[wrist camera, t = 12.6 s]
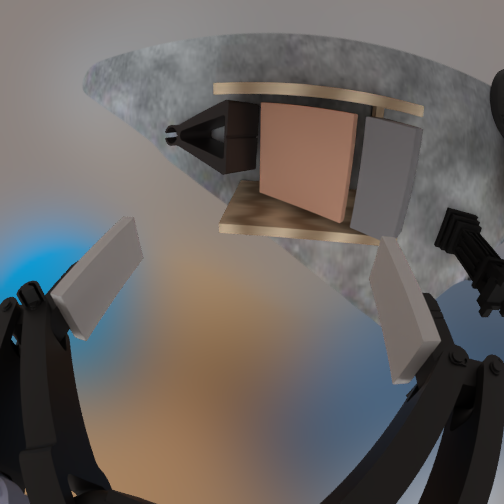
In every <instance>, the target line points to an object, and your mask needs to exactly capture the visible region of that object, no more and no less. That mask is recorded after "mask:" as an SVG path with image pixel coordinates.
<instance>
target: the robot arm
mask: <svg viewBox="0 0 504 504" xmlns="http://www.w3.org/2000/svg"><path fill="white" fill-rule="evenodd" d="M491 108H492V113H493V117H494V120H495V123H496V125H497V128H498V130H499V131H500V133H501V134H502V136H503V137H504V69H503V70H501V71H499V72H498V73H497V74H496V76H495V77H494V80H493V82H492V86H491ZM142 259H143V254H142V250H141V246H140V242H139V237H138V233H137V229H136V225H135V220H134V217H122V218H121V219H120V220H119V221H118V222H117V223H116V224H115V225H114V226H113V227H112V228H111V229H110V230H109V231H108V232H107V233H106V234H105V235H104V236H103V237H102V238H101V239H100V240H99V241H98V242H97V243H96V244H95V245H94V246H93V247H92V248H91V249H90V250H89V251H88V252H87V253H86V254H85V255H84V256H83V257H82V258H81V259H80V260H79V261H77V262H76V263H74V264H73V265H71V267H70V268H69V269H68V270H67V271H66V273H64V274H63V275H62V276H61V278H60V279H59V280H58V281H57V282H56V283H55V284H54V286H53V287H52V288H51V289H50V290H49V291H48V293H47V294H46V295H44V293H43V291H42V289H41V287H40V285H39V283H38V282H37V281H30V282H27V283H25V284H24V285H23V286H21V288H20V289H19V290H18V292H17V296H18V298H19V300H20V302H21V303H22V305H19V304H18V302H17V300H16V298H14V297H9V298H7V299H5V300H4V301H3V302H2V303H1V304H0V504H156V503H153V502H150V501H147V500H144V499H142V498H139V497H135V496H132V495H128V494H125V493H121V492H118V491H115V490H112V488H111V486H110V483H109V482H108V479H107V478H106V476H105V474H104V473H103V472H102V471H101V470H100V468H99V467H98V465H97V463H96V461H95V458H94V455H93V452H92V449H91V446H90V442H89V439H88V435H87V432H86V429H85V425H84V421H83V416H82V413H81V408H80V404H79V399H78V394H77V389H76V383H75V377H74V371H73V365H72V357H71V349H70V340H69V336H68V334H67V332H68V330H69V329H70V330H71V331H72V333H73V335H74V336H75V337H76V338H79V339H82V340H85V341H87V339H88V338H89V336H90V335H91V333H92V332H93V330H94V328H95V327H96V325H97V324H98V322H99V321H100V319H101V317H102V316H103V315H104V313H105V311H106V310H107V309H108V307H109V306H110V304H111V303H112V301H113V300H114V298H115V297H116V295H117V294H118V292H119V291H120V290H121V288H122V287H123V285H124V284H125V282H126V281H127V280H128V278H129V277H130V276H131V274H132V273H133V271H134V270H135V269H136V267H137V266H138V265H139V263H140V262H141V260H142ZM369 281H370V284H371V288H372V291H373V295H374V299H375V303H376V306H377V310H378V314H379V319H380V323H381V327H382V331H383V335H384V340H385V345H386V349H387V354H388V360H389V365H390V371H391V377H392V382H393V384H404V383H409V382H410V381H411V380H412V379H413V377H414V376H416V380H417V384H416V385H415V386H414V388H413V389H412V390H411V391H410V392H409V393H408V394H407V395H406V396H407V399H406V401H405V402H404V404H403V405H402V407H401V408H400V410H399V411H398V413H397V414H396V416H395V418H394V419H393V420H392V422H391V423H390V425H389V426H388V427H387V429H386V430H385V431H384V433H383V434H382V436H381V437H380V438H379V439H378V441H377V442H376V443H375V445H374V446H373V447H372V448H371V450H370V451H369V452H368V453H367V455H366V456H365V457H364V458H363V459H362V460H361V462H360V463H359V464H358V465H357V466H356V467H355V469H354V470H353V471H352V472H351V473H350V474H349V475H348V476H347V477H346V479H344V480H343V482H342V483H341V484H340V485H339V486H338V487H337V488H336V489H335V490H334V491H333V492H332V493H331V494H330V495H329V496H328V497H326V498H325V499H324V500H323V501H322V502H321V503H320V504H396V503H397V502H398V500H399V499H400V498H401V496H402V495H403V494H404V492H405V491H406V490H407V488H408V487H409V485H410V484H411V483H412V481H413V480H414V478H415V477H416V475H417V474H418V472H419V471H420V469H421V467H422V466H423V464H424V463H425V461H426V459H427V458H428V455H429V454H430V452H431V450H432V449H433V447H434V445H435V444H436V441H437V440H438V438H439V436H440V434H441V432H442V430H443V428H444V431H443V435H442V439H441V443H440V446H439V449H438V452H437V456H436V459H435V462H434V465H433V468H432V471H431V473H430V476H429V479H428V481H427V484H426V486H425V489H424V491H423V494H422V496H421V498H420V500H419V503H418V504H487V503H488V500H489V496H490V493H491V490H492V486H493V482H494V479H495V475H496V470H497V466H498V461H499V456H500V450H501V444H502V437H503V429H504V363H503V361H502V360H501V359H500V358H499V357H497V356H496V355H489V356H487V357H486V358H485V360H484V361H483V362H480V361H476V360H472V359H469V357H468V354H467V353H466V351H465V350H464V349H463V348H461V347H460V346H457V345H455V344H454V342H453V339H452V337H451V334H450V331H449V329H448V326H447V324H446V322H445V320H444V317H443V314H442V312H440V311H441V310H440V308H439V306H438V303H437V301H436V300H435V299H434V298H433V297H432V296H431V294H430V293H422V292H421V289H420V287H419V285H418V283H417V280H416V278H415V276H414V274H413V272H412V270H411V268H410V266H409V264H408V262H407V260H406V258H405V256H404V254H403V252H402V250H401V248H400V246H399V244H398V242H397V240H396V238H395V237H387V236H382V237H381V240H380V244H379V248H378V251H377V255H376V258H375V261H374V265H373V268H372V271H371V274H370V277H369ZM12 335H13V336H14V337H15V339H16V340H17V343H16V345H15V344H14V343H13V341H12V340H11V338H12ZM444 426H445V427H444ZM25 488H26V492H27V495H28V496H27V495H25V494H24V493H25ZM71 491H73V492H74V493H76V495H77V496H76V497H73V495H72V492H71Z"/></svg>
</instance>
